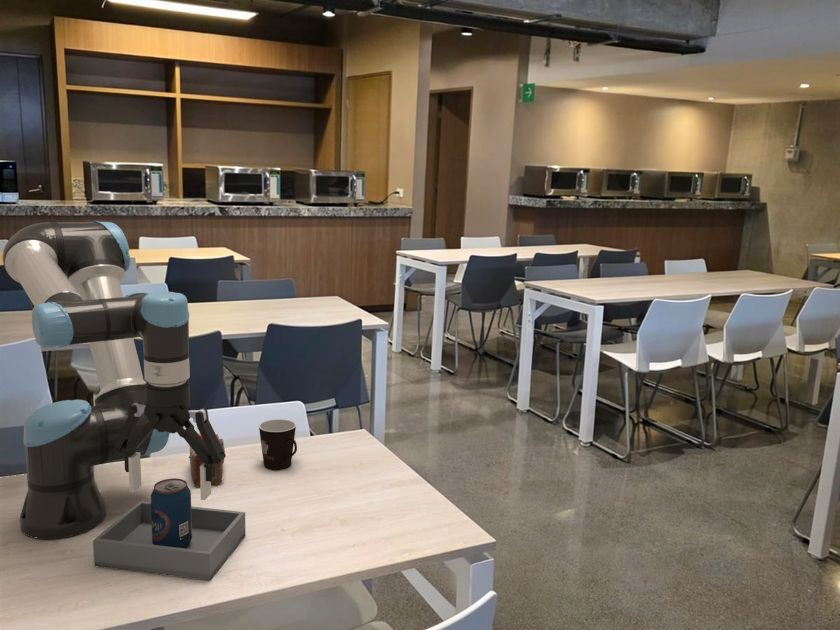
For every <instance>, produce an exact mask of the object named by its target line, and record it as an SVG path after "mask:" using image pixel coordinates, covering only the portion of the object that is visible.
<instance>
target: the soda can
mask: <svg viewBox="0 0 840 630" xmlns="http://www.w3.org/2000/svg"><path fill="white" fill-rule="evenodd" d="M150 502H151V521H152V543H153V545H159V546H168V547H176V548H186V547H187V546H188V545H189V543H190V541H191V539H192V515H191V506H192V491H191V489H190V488H189V486H188V481H186V480H185V479H183V478H165V479H162V480H159V481H157V482H156V483H155V484H154V485H153V490H152V492H151V494H150Z"/></svg>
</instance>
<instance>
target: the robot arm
mask: <svg viewBox="0 0 840 630" xmlns="http://www.w3.org/2000/svg"><path fill="white" fill-rule="evenodd" d="M2 262H3V266H4V269H5V271H6V273H7V274H8V275H9V277H11V279H13V280H14V281H15V282H17V283H19V284H20V285H21V286H22V288H23V290H24V291H25V294H26V295H27V296H28V298H29V300H30V301H31V303H32V305H33V306H34V307H33V308H32V311H31V325H32V333H33V335H34V339H35V341H36V344H37V345H38V346H40V347H42V348H47V347H48V348H50V347H51V348H52V347H59V348H64V347H68V346H74V345H75V346H76V345H82V344H83V345H84V344H89V346H90V350H91V351H90V352H91V355H92V359H93V364H94V368H95V372H96V377H97V382H98V387H99V392H98V394H97V395H96V397H94V406H91V404H90V403H89V402H88V401H86V400H84V399H73V400H71V399H66V400H60V401H55V402H51V403H49V404H46V405H42V406H41V407H39V408H37V409H35V410H34V411H31V413H30V414H29V415H28V416H27V417H26V418H25V420H24V421H23V422H24V423H23V439H22V441H23V445H24V450H25V451H24V452H25V464H26V465H25V466H26V480H27V491H26V495H25V498H24V501H23V505H22V509H21V512H20V516H19V524H20V526H19V527H20V530H22V531H21V533H23V534H24V533H25V534H27V535H29V536H28V537H30V536H32V537H31V538H33V537H37V538H36V539H38V538H45V539H44V540H56V539H65V538H70V537H74V536H77V535H80V534H83V533H85V532H88V531H90V530H92V529H94V528H96V527H97V526H99V525H100V524H101V523H102V522H104V520H105V518H106V516H107V507H106V503H105V502H106V501H105V500H104V498H103V496H102V494H101V491H100V489H99V487H98V484H97V482H96V480H95V471H94V470H95V466H99V465H104V464H108V463H113V462H118V461H124V470H125V473H128V482H129V483H128V484H129V492H131V493H132V492H133V493H134V492H135V491H137V489H139V488H140V487H141V486H142V466H141V464H142V463H141V461H142V460H141V457H145V456H146V455H151V454H154V453H158V452H160V451H162V450H163V449H164V448H165V447H166V445H167V444H168V442H169V438H170V434H176V433H177V435H179V437H180V438H183V439H184V441H186V443H187V444H188V446H189V448H190V447H191V448H192V449H193V450H194V452H195V453H196V454H197V455H198V457H199V458H200V459H201V460H202V462H203V464H202V465H201V466H200V487H199V488H200V501H206V500H207V498H208V497H209V496H210V495H211V494H212V486H211V481H212V480H213V479H214V478H215V463H217V464H218V463H220V462H221V461H222V460H223V459H224V460H225V458H226V451H225V452H224V450H223V448H222V446H221V444H220V442H219V440H218V438H217V436H216V435H217V434H216V432H215V429H214V428H213V426H212V424H211V421H210V419H209V412H208V411H209V410H208V409H207V408H206V407H203V408H201V409H197V410H196V409H194V410H193V409H192V407H191V406H190V403H191V387H190V386H191V383H190V381H189V379H190V377H191V375H190V374H191V373H190V371H191V370H190V337H189V335H190V329H189V326H190V324H189V323H190V321H189V320H190V311H189V306H188V305H189V303H188V299H187V296H186V295H185V294H183V293H181V292H173V291H155V292H149V293H148V292H142V291H134V292H131V293H129V294H128V293H127V294H126V295H125V296H124V295H123V290H122V286H121V283H122V281H123V280H124V278H125V277H126V272H127V271H128V270H129V268H130V265H131V255H130V248H129V243H128V239H127V238H126V235H125V234H124V231H123V230H122V229H121V227H120V226H118V225H117V224H116V223H114V222H111V221H98V220H92V221H74V222H72V221H64V222H62V221H60V222H59V221H57V222H50V221H47V222H46V221H45V222H43V221H42V222H38V223H33V224H29V225H28V226H26V227H23V228H21V229H19V230H18V231H17V232H16V233H15V234H13V235H12V236H11V237H10V238H9V239H8V241H7V242H6V244H5V246H4V249H3V251H2ZM135 338H136V339H137V338H141V339H142V345H143V346H142V347H143V348H142V349H143V372H142V367H141V363H140V359H139V355H138V352H137V349H136V344H135ZM143 373H144V376H143ZM190 419H192V421H193V423H195V424H196V425H195V426H196V428H197V430H198V432H197V430H196V429H195V426H194V424H193V423H192V422H191V421H190ZM199 433H200V434H201V436H202V438H203V439H202V438H201V437H200V436H199ZM203 440H204V441H203ZM25 534H24V535H25ZM27 535H26V536H27Z"/></svg>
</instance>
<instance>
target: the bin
mask: <svg viewBox="0 0 840 630" xmlns="http://www.w3.org/2000/svg"><path fill="white" fill-rule="evenodd" d="M191 515H192V539H191V541H190V543H189V545H188V546H187V547H186V548H176V547H168V546H159V545H153V543H152V521H151V501H145V500H144V501H143V500H139V501H138V502H137V503H136V504H134V505H133V506H132V507H130V508H129V509H128V510H127V511H126V512H125V513H124V514H122V515H121V516H120V517H118V519H116V520H115V521H114V522H113V523H112V524H110V525H109V526H108V527H107V528H106V529H104V530H103V531H102V532H101V533H100V534H99V535H97V536H96V537H95V538H94V539H93V540H92V546H93V547H92V549H93V551H92V552H93V564H94V565H93V567H95V566H98V567H97V568H104V567H105V568H106V569H113V570H121V571H122V570H123V571H129V572H130V571H131V572H139V573H146V574H153V575H162V576H170V577H176V578H177V577H178V578H179V577H180V578H185V579H186V578H187V579H196V580H202V581H209V582H210V581H212V579H213V578H214V577H215V575H217V573H218V572H219V570H220V569H221V568H222V567H223V565H224V564H225V563H226V562H227V560H228V559H229V558H230V557H231V556H232V554H233V552H234V551H235V550H236V548H237V547H238V546H239V545H240V544H241V543H242V541H243V540H244V539H245V538H246V511H240V510H238V511H237V510H228V509H227V510H226V509H220V508H219V509H218V508H209V507H200V506H192V505H191Z"/></svg>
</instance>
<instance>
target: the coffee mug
mask: <svg viewBox="0 0 840 630" xmlns="http://www.w3.org/2000/svg"><path fill="white" fill-rule="evenodd" d="M296 427H297V424H296V422H295V421H292V420H290V419H284V418H282V419H279V418H274V419H269V420H265V421H262V422H260V423H259V425H258V430H259V437H260V445H261V453H262V460H263V467H264V468H265V469H266V470H268V471H276V472H277V471H284V470H287V469H289V468H290V467H291V466H292V461H293V460H292V459H293V456H294V455H296V453H297V451H298V444H297V442H296V439H295V435H296Z"/></svg>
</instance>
